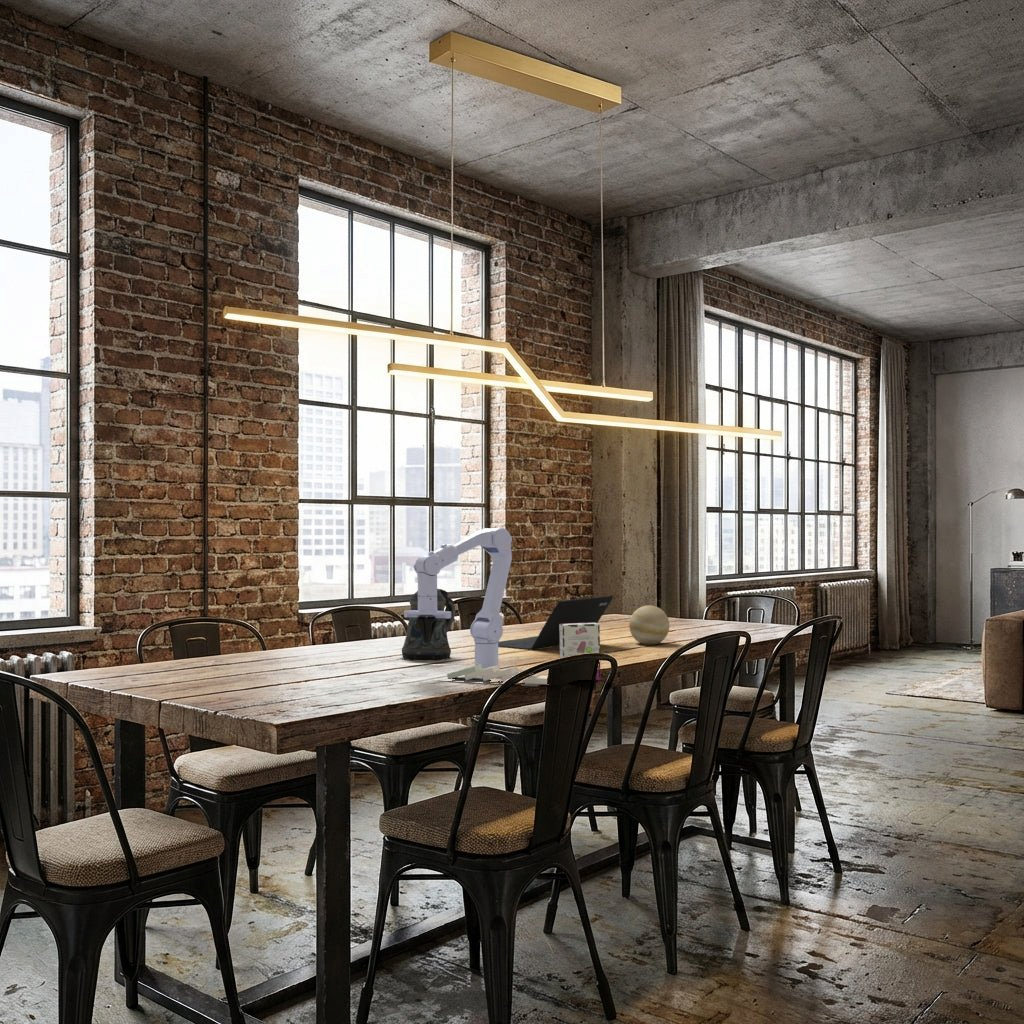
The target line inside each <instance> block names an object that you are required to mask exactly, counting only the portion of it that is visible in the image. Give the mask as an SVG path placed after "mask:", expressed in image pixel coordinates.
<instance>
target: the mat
mask: <svg viewBox="0 0 1024 1024" xmlns="http://www.w3.org/2000/svg"><path fill="white" fill-rule="evenodd" d="M452 681H464V682H483V683H499V684H501V683H503V681H501V682H500V681H498V682H490V681H491V680H486V681H483V678H482V676H479V677H476V678H472V679H469V680H466V679H465V676H458V677H455V680H452ZM541 685H543V684H529V683H525V684H521V687H540V686H541Z"/></svg>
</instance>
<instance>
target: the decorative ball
mask: <svg viewBox="0 0 1024 1024" xmlns="http://www.w3.org/2000/svg"><path fill="white" fill-rule="evenodd" d="M628 626H629V632H630V634H631V636H632V637H633V638H634V640H635V641H636V642H638V643H639V644H640V645H648V646H649V645H650V646H651V645H652V646H653V645H658V644H660V643H662V642H663V641H664V640H665V639H666V638H667V636H668V634H669V631H670V620H669V617H668V615H667V614H666V613H665V611H664V610H663V609H661V607H658V606H656V605H655V606H654V605H651V604H650V605H642V606H641V607H640V606H639V608H637V609H636V610H635V611H633V613H632V615H631V616H630V619H629V625H628Z"/></svg>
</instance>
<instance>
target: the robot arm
mask: <svg viewBox="0 0 1024 1024" xmlns="http://www.w3.org/2000/svg"><path fill="white" fill-rule="evenodd" d="M512 541H513V537H512V535H511V534H510V532H509V531H508V530H507V529H506V528H504V527H499V528H488V527H484V528H482V529H479V530H476V531H474V533H472V534H470V535H469V536H467V537H465V538H464V539H462V540H460V541H458V542H457V543H455V544H450V543H442V544H441V545H440V547H439V548H438V549H437V548H436V549H435V550H434V551H433V550H431V551H429V552H428V554H427V555H421V556H418V557H417V559H416V560H415V564H413V569H414V571H415V573H416V575H417V576H416V578H417V591H418V610H411V609H409V610H404V611H403V617H404V618H409V617H418V619H417V620H416V621H417V623H418V625H419V627H420V629H421V632H422V635H423V639H424V643H429V642H431V639H432V635H433V632H434V629H435V626H436V624H437V622H438V620H439V619H437V618H446V619H449V618H451V612H449V611H447V610H444V611H437V589H438V575H439V573H440V572H441V571H442V570H443V568H446V567H448V566H449V565H452V564H453V563H455V562H457V561H458V559H459V555H462V554H464V553H465V552H468V551H471V550H473V549H475V548H477V547H481V548H482V549H483V550H484V551H485V552H486V553H488V554H489V556H490V557H491V559H492V560H493V561H492V566H491V568H490V569H491V570H490V574H489V578H488V582H487V586H486V591H485V594H484V599H483V604H482V607H481V609H480V610H479V612H477V613H476V615H475V619H474V620H473V622H472V623H471V625H470V626H469V627H470V629H469V632H470V635H471V637H472V638H473V641H474V666H476V665H479V664H481V666H482V669H486V668H489V667H493V666H496V665H499V647H498V643H499V642H500V641H501V639H502V637H503V635H504V634H503V633H504V628H503V623H504V618H503V617H502V615H501V614H500V612H501V608H502V604H503V597H504V594H505V589H506V586H507V580H508V578H509V574H510V569H511V566H512V561H513V554H512ZM419 615H432V616H419ZM500 670H501V669H500ZM500 670H499V671H500Z"/></svg>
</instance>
